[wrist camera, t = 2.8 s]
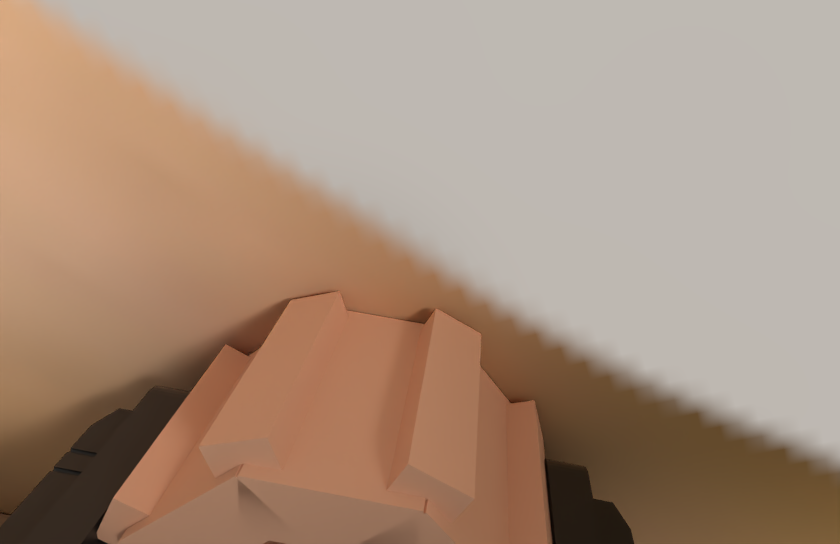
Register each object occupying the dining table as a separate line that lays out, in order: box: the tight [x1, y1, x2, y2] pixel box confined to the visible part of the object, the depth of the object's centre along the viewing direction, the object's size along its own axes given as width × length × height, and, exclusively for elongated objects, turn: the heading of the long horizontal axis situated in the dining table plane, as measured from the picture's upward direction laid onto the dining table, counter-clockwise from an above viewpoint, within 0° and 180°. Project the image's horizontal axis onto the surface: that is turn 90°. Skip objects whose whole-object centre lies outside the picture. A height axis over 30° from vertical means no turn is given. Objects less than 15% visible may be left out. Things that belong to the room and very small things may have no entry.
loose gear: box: [97, 291, 553, 544], centre depth 10 cm, size 6×6×4 cm
